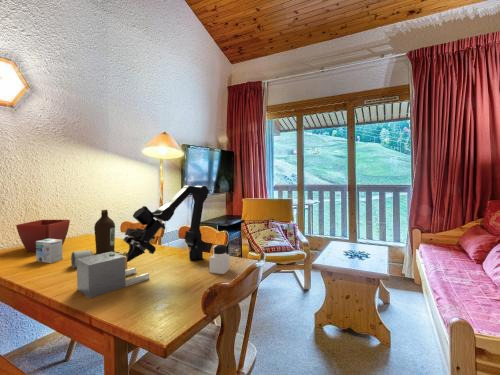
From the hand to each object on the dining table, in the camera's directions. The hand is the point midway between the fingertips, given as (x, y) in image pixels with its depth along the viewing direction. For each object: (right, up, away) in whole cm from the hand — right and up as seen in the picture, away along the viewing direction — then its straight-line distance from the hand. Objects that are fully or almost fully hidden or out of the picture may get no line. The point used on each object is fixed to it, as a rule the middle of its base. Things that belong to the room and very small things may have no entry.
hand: (125, 261), depth 108 cm
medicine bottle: (+38, -8, +11) cm, 41 cm away
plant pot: (-75, -7, +51) cm, 90 cm away
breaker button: (-4, -3, -5) cm, 7 cm away
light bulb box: (-54, -8, +28) cm, 61 cm away
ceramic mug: (-32, -8, +20) cm, 39 cm away
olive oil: (-33, -7, +43) cm, 54 cm away
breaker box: (-3, -8, -3) cm, 9 cm away
